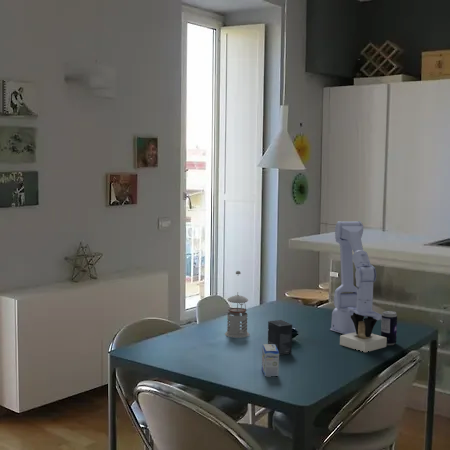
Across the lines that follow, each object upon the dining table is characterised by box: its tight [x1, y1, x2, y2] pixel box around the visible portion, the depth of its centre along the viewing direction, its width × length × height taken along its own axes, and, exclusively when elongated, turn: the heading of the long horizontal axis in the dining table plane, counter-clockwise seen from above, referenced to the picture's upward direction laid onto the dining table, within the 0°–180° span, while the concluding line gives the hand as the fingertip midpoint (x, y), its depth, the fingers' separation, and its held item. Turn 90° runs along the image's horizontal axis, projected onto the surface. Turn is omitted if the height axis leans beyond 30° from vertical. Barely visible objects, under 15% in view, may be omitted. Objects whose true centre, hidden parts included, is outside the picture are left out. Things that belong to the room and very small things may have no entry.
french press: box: [224, 270, 250, 339], centre depth 272 cm, size 10×12×25 cm
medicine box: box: [261, 343, 280, 378], centre depth 226 cm, size 8×4×9 cm, turn 5°
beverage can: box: [380, 310, 398, 346], centre depth 262 cm, size 6×6×12 cm
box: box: [267, 319, 293, 356], centre depth 250 cm, size 8×6×11 cm
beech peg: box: [358, 320, 369, 339], centre depth 258 cm, size 4×4×8 cm
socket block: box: [339, 332, 387, 353], centre depth 259 cm, size 12×12×4 cm
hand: (363, 335), depth 259 cm, fingers closed on beech peg, 4 cm apart
